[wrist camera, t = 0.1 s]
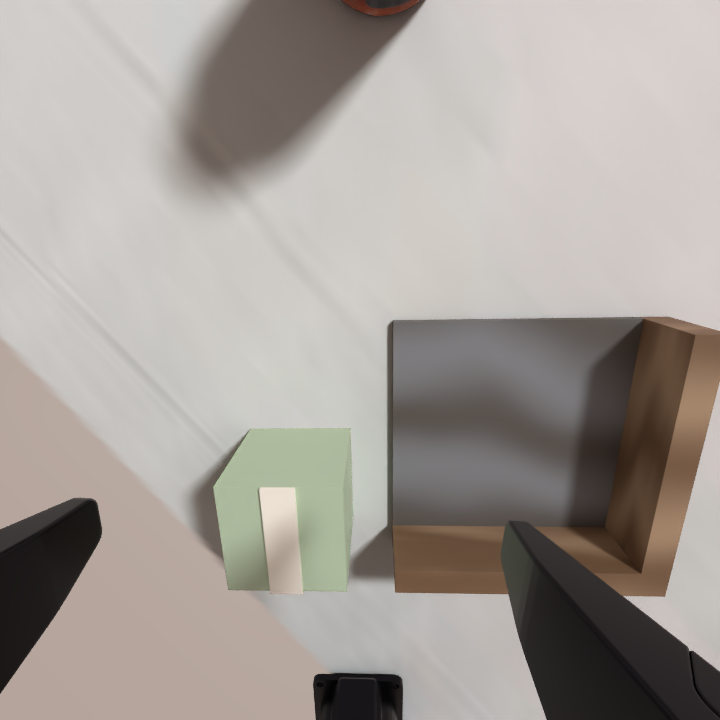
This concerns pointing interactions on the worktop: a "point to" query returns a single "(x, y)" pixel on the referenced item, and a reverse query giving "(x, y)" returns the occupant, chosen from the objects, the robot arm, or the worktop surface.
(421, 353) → the corner arena
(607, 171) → the worktop surface
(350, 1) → the supplement bottle
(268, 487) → the cube
